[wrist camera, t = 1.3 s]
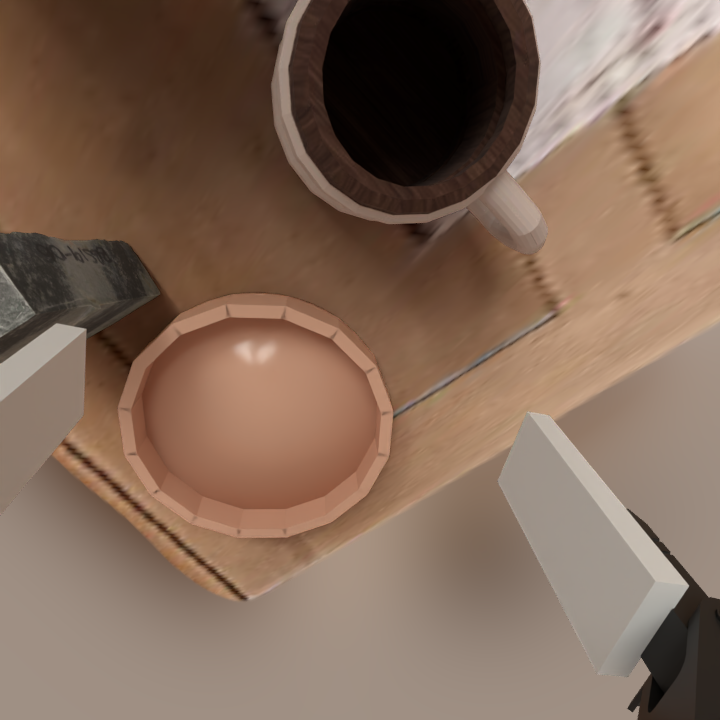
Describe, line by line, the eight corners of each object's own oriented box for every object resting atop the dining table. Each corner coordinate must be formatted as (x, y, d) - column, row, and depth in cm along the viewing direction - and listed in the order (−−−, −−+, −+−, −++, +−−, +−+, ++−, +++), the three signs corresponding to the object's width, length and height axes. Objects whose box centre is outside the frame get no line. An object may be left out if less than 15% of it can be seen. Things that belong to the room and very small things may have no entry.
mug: (230, 110, 35) (173, 89, 22) (380, -82, 32) (426, -255, 18) (424, 295, 42) (475, 370, 28) (566, 153, 38) (706, 158, 24)
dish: (80, 410, 43) (61, 431, 40) (259, 234, 39) (254, 242, 36) (266, 548, 51) (263, 575, 48) (435, 414, 46) (444, 435, 43)
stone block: (37, 298, 40) (74, 356, 40) (-163, 311, 25) (-101, 400, 26) (129, 240, 38) (166, 300, 39) (-28, 219, 24) (34, 314, 25)
